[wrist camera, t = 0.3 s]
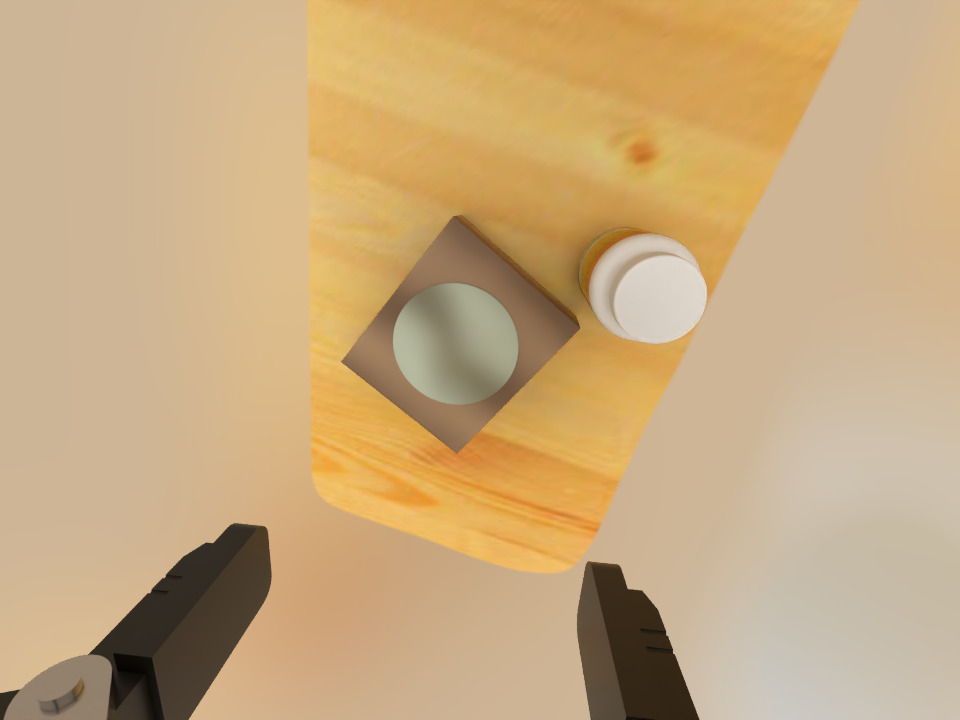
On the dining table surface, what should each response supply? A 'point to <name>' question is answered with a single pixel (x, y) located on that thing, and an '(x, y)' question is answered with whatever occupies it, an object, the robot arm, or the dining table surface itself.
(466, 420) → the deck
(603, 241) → the supplement bottle
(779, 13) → the dining table surface
